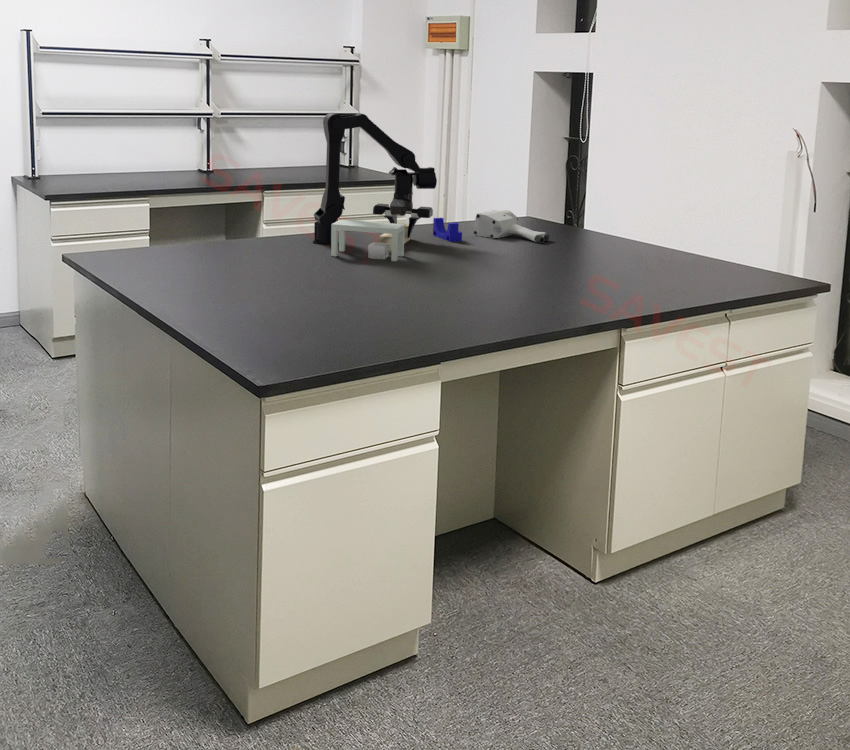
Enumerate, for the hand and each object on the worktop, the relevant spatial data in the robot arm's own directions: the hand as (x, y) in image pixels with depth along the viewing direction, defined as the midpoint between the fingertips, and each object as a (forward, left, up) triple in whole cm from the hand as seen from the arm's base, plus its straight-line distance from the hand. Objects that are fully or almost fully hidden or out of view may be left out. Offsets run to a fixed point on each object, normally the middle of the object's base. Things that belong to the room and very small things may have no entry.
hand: (402, 237), depth 322 cm
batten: (0, -9, -1) cm, 9 cm away
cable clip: (+13, +10, -1) cm, 17 cm away
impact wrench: (+36, +25, -2) cm, 43 cm away
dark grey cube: (0, -29, -1) cm, 29 cm away
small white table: (-3, -28, -1) cm, 29 cm away
